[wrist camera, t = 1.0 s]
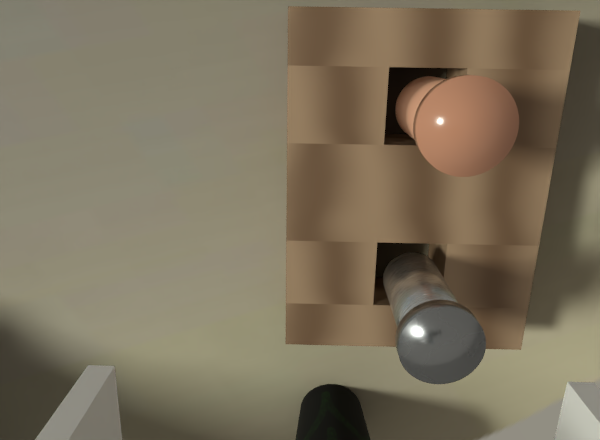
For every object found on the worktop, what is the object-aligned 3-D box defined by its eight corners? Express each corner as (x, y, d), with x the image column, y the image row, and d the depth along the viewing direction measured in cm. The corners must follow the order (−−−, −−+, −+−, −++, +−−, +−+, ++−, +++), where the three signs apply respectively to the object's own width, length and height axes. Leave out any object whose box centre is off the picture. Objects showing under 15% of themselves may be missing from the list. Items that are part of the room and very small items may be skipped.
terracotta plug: (386, 144, 33) (413, 176, 25) (391, 68, 32) (422, 74, 23) (459, 146, 33) (511, 178, 25) (468, 70, 32) (526, 76, 23)
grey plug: (375, 307, 37) (394, 383, 29) (379, 246, 36) (401, 307, 27) (440, 308, 37) (480, 385, 28) (447, 247, 36) (491, 309, 27)
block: (288, 312, 44) (285, 344, 39) (291, 12, 36) (288, 6, 31) (497, 317, 43) (520, 349, 39) (544, 16, 36) (580, 10, 31)
